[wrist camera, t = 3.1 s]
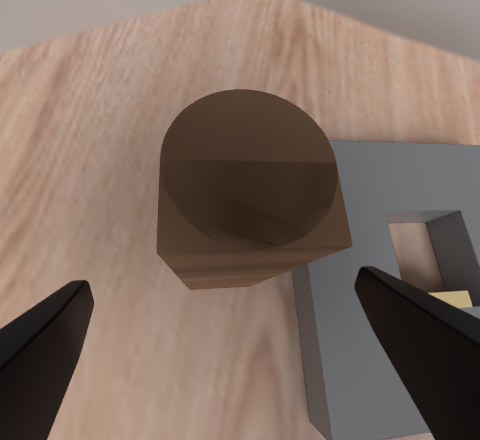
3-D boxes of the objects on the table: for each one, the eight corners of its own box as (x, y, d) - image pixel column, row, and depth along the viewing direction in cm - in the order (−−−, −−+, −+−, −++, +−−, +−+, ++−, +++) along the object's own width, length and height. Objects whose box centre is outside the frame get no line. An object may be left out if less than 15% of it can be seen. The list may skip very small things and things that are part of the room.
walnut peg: (248, 286, 18) (352, 246, 5) (189, 289, 17) (156, 252, 5) (244, 230, 19) (323, 94, 7) (189, 231, 18) (163, 84, 6)
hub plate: (549, 388, 18) (612, 403, 16) (309, 421, 16) (333, 447, 13) (466, 164, 24) (502, 145, 21) (278, 161, 21) (290, 139, 18)
